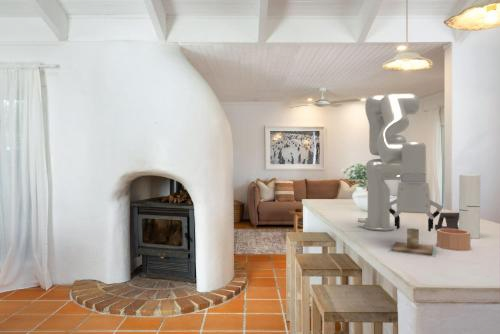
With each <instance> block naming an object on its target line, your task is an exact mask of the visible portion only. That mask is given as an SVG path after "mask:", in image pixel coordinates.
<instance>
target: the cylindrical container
mask: <svg viewBox="0 0 500 334" xmlns="http://www.w3.org/2000/svg"><path fill="white" fill-rule="evenodd" d="M458 177H459V183H458V184H459V188H458V189H459V191H458V192H459V194H458V195H459V197H458V199H459V201H458V202H459V203H458V206H459V208H458V211H459V212H458V213H459V221H458V228H459V230H465V231H468V232H470V239H480V238H481V235H480V234H481V175H480V174H459V176H458Z"/></svg>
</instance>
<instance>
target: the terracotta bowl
mask: <svg viewBox="0 0 500 334" xmlns="http://www.w3.org/2000/svg"><path fill="white" fill-rule="evenodd" d="M436 247H438V248H441V249H444V250H449V251H458V252H462V251H464V252H465V251H470V250H471V238H470V232H468V231H465V230H459V229H437V230H436Z"/></svg>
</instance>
